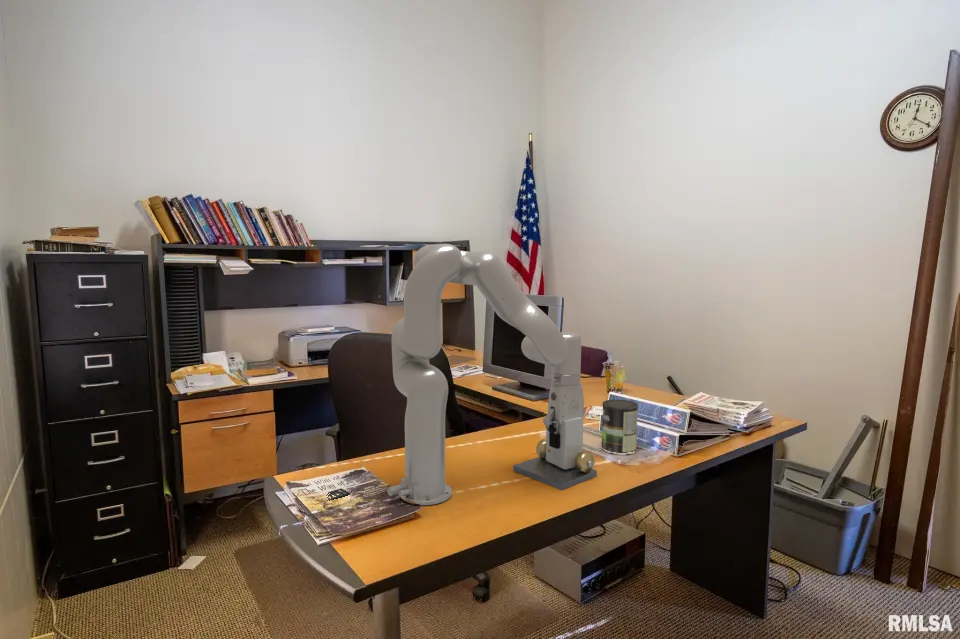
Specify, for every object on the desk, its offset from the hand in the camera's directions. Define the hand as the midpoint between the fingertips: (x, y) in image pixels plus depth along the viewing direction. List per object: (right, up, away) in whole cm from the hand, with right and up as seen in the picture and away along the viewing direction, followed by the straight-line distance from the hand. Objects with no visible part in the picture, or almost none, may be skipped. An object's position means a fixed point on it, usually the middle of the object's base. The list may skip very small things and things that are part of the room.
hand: (564, 443), depth 152 cm
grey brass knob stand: (-3, -7, -2) cm, 8 cm away
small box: (0, -6, +1) cm, 6 cm away
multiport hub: (-58, -10, -22) cm, 63 cm away
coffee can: (+19, -6, +17) cm, 26 cm away
